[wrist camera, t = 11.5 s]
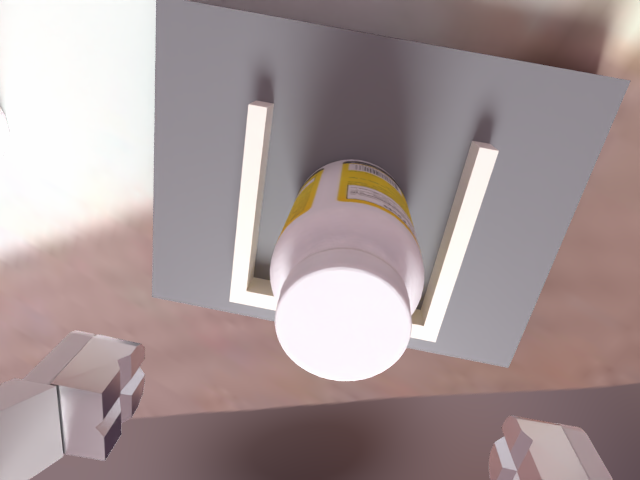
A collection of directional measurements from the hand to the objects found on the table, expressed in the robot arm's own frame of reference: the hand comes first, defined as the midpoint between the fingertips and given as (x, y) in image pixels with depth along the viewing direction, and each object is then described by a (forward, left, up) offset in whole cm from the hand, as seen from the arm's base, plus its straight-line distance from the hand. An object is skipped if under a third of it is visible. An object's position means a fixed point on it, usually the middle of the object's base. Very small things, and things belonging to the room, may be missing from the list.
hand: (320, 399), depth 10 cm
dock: (0, 0, -16) cm, 16 cm away
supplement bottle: (0, 0, -13) cm, 13 cm away
